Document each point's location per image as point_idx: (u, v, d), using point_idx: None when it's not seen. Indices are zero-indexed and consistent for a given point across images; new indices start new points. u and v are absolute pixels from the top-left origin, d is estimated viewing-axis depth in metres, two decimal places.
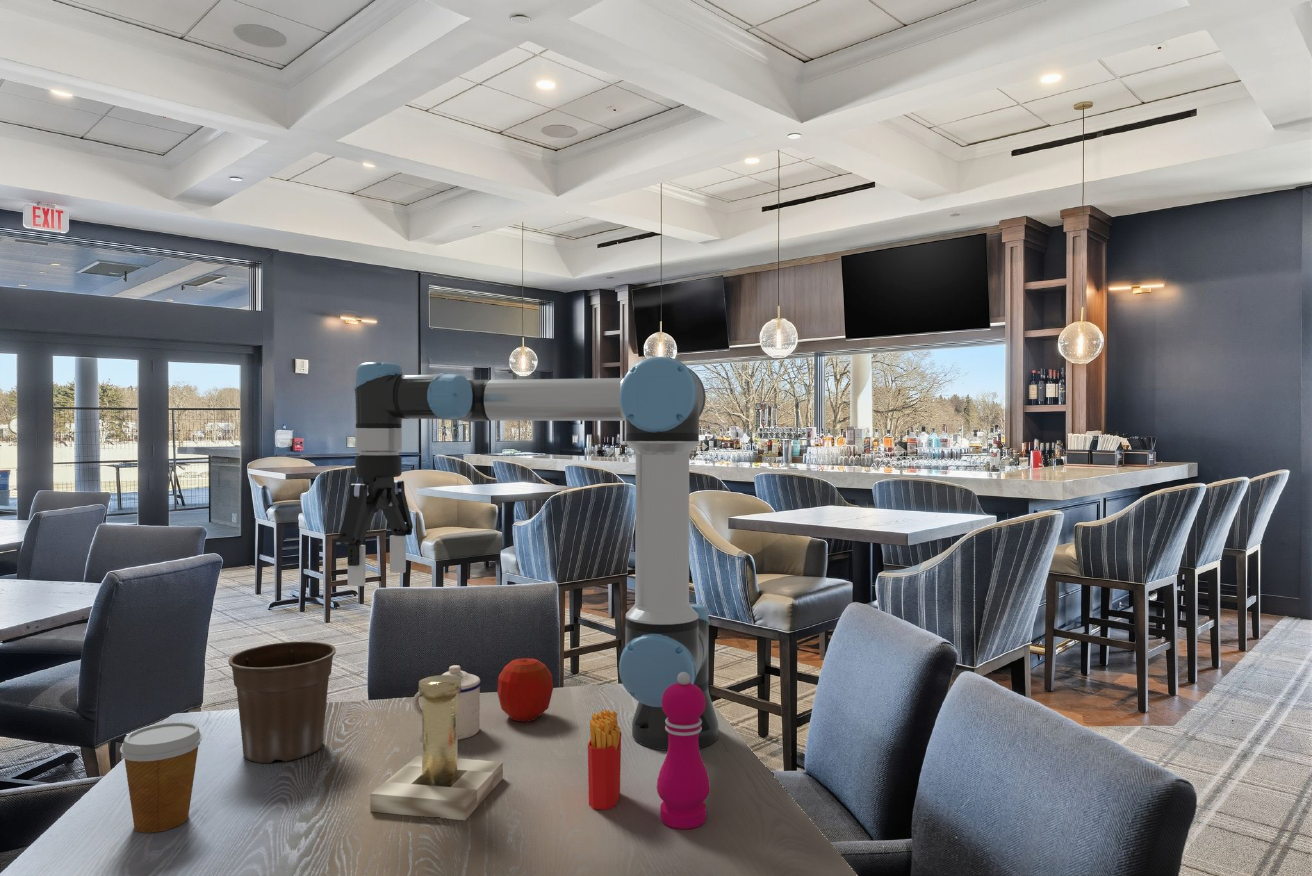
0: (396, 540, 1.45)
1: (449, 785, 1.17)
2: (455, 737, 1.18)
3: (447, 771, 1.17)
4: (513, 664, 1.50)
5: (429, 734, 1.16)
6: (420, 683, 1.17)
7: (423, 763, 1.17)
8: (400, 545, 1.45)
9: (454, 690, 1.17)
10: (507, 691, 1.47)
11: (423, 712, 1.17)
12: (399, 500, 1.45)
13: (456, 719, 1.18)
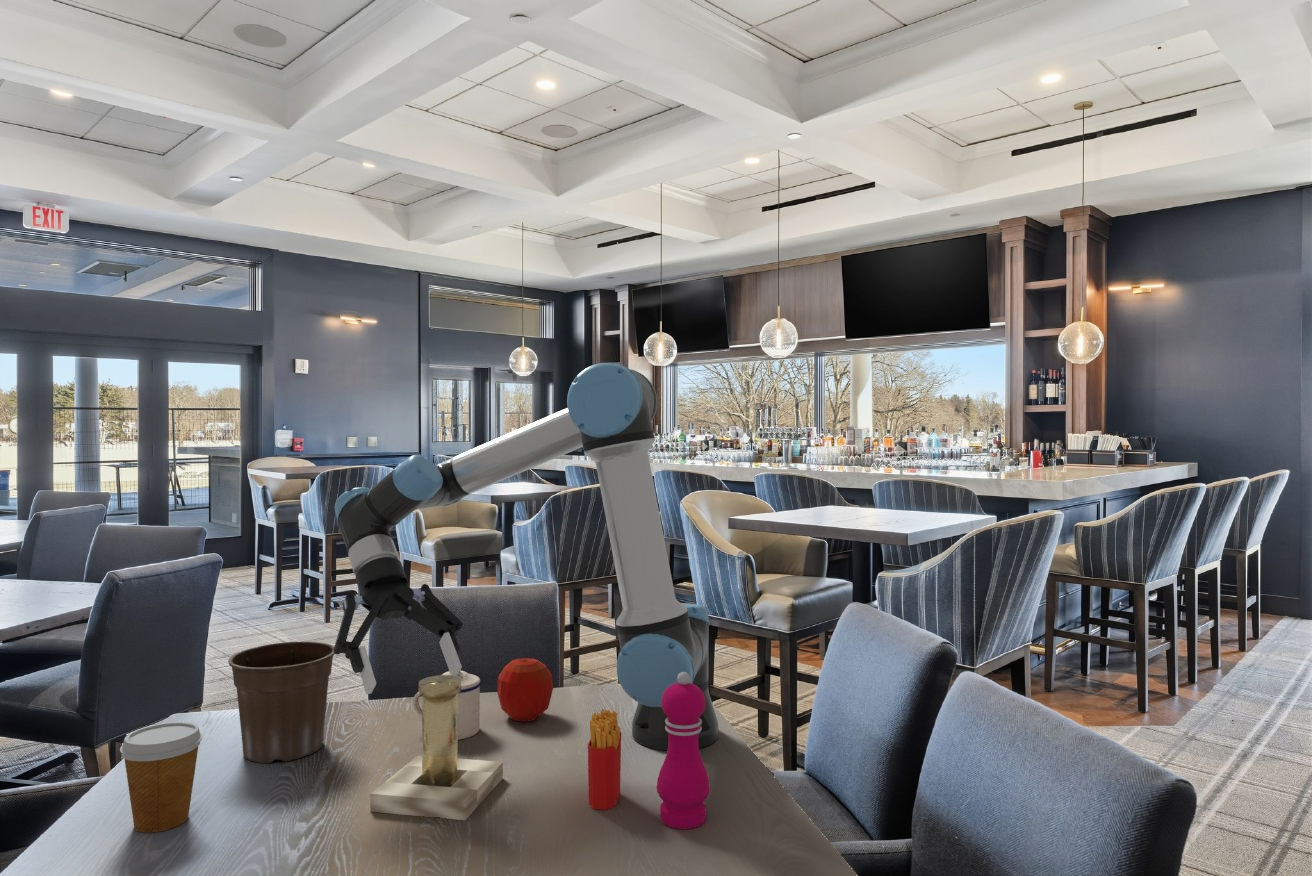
0: (443, 642, 1.31)
1: (449, 785, 1.17)
2: (455, 737, 1.18)
3: (447, 771, 1.17)
4: (513, 664, 1.50)
5: (429, 734, 1.16)
6: (420, 683, 1.17)
7: (423, 763, 1.17)
8: (446, 643, 1.30)
9: (454, 690, 1.17)
10: (507, 691, 1.47)
11: (423, 712, 1.17)
12: (430, 603, 1.34)
13: (456, 719, 1.18)
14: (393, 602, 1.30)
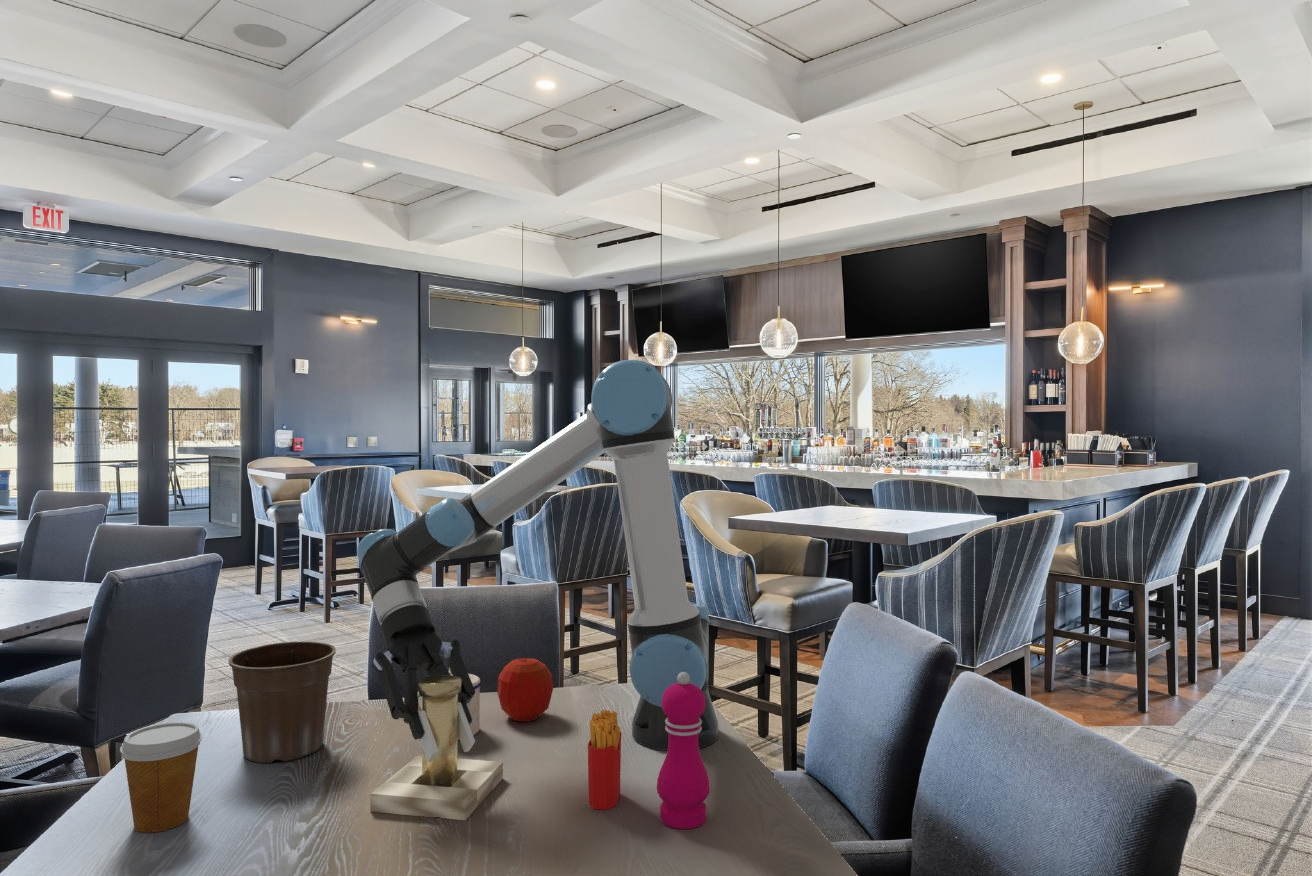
0: None
1: (449, 785, 1.17)
2: (455, 737, 1.18)
3: (447, 771, 1.17)
4: (513, 664, 1.50)
5: None
6: (420, 683, 1.17)
7: (423, 763, 1.17)
8: (458, 715, 1.20)
9: (454, 690, 1.17)
10: (507, 691, 1.47)
11: None
12: (453, 661, 1.26)
13: (456, 719, 1.18)
14: (421, 653, 1.24)
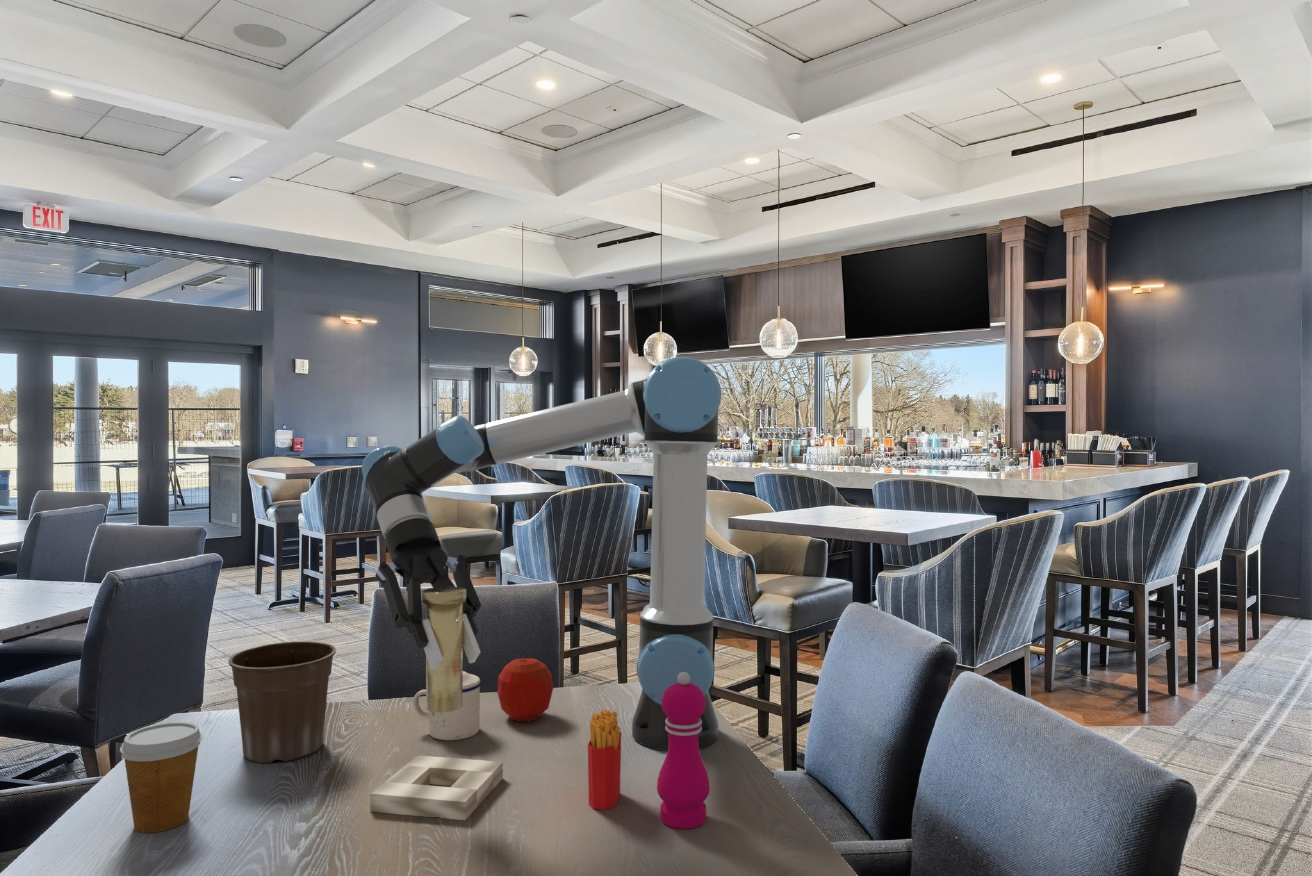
0: None
1: (454, 695, 1.14)
2: (459, 647, 1.15)
3: (451, 682, 1.14)
4: (513, 664, 1.50)
5: None
6: (424, 592, 1.14)
7: (427, 674, 1.14)
8: (463, 626, 1.16)
9: (458, 599, 1.14)
10: (507, 691, 1.47)
11: None
12: (458, 575, 1.23)
13: (461, 629, 1.15)
14: (426, 566, 1.21)
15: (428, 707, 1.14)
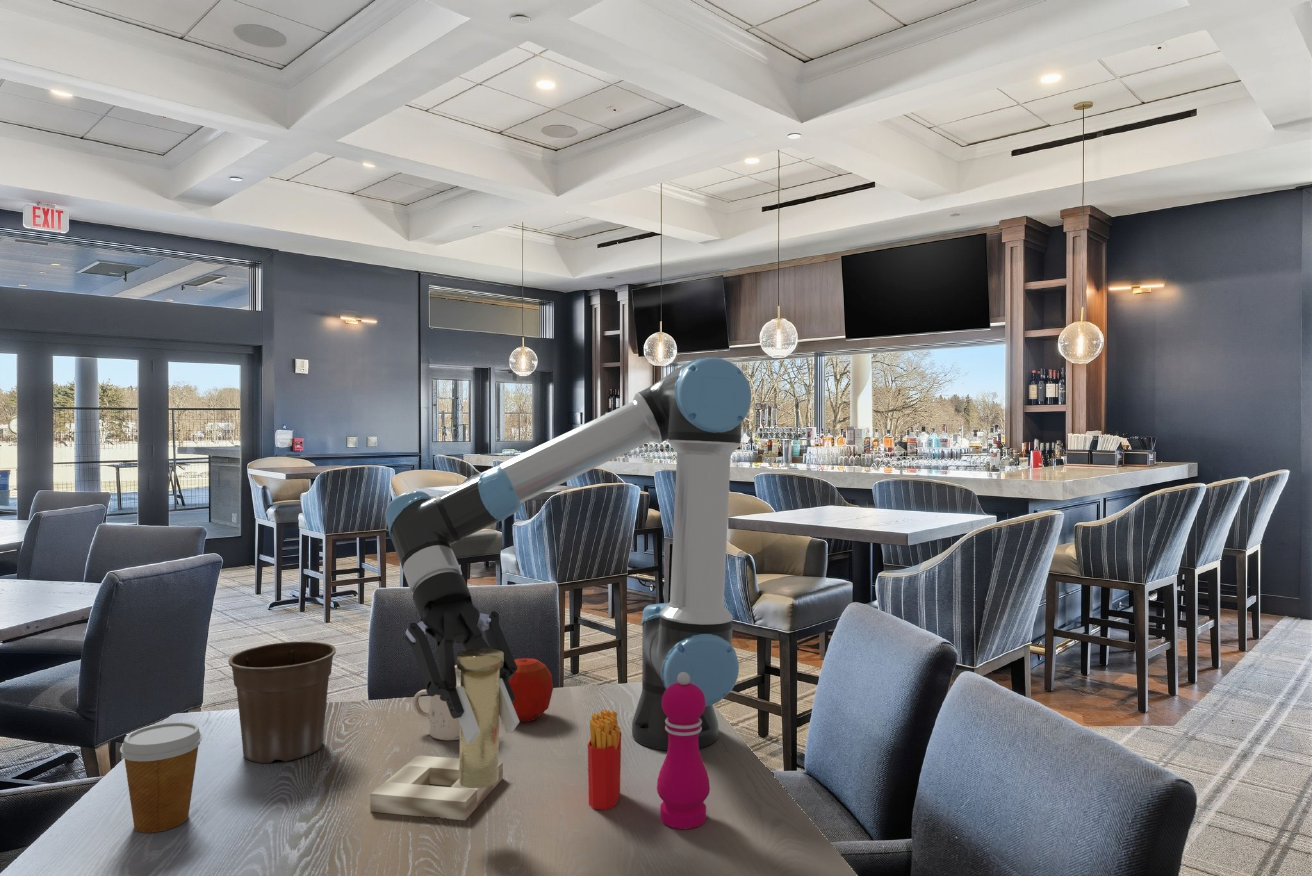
0: None
1: (490, 769, 1.05)
2: (496, 716, 1.06)
3: (488, 754, 1.05)
4: None
5: None
6: (458, 656, 1.06)
7: (462, 745, 1.05)
8: (499, 692, 1.08)
9: (496, 664, 1.05)
10: None
11: None
12: (492, 634, 1.14)
13: (498, 697, 1.06)
14: (458, 625, 1.12)
15: (462, 782, 1.05)
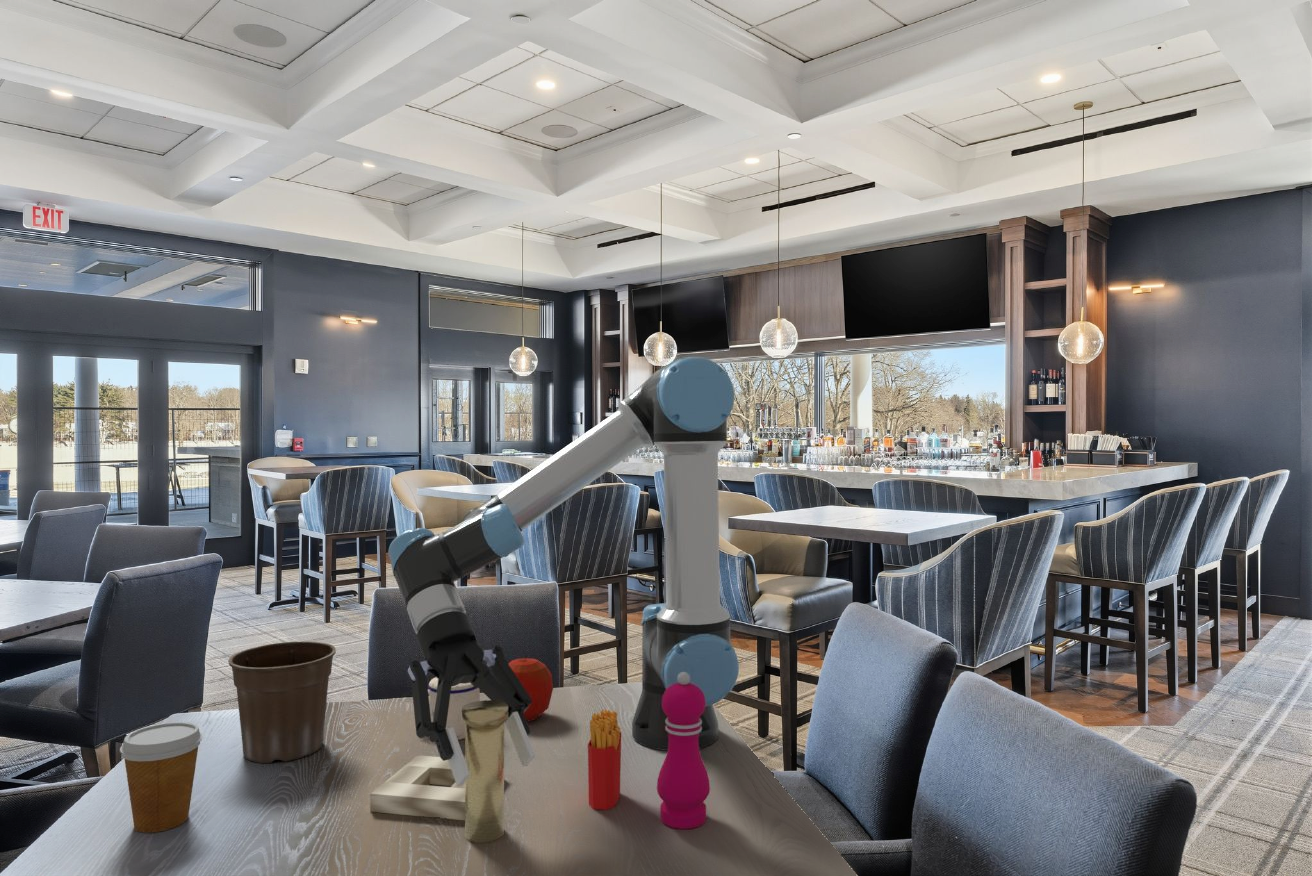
0: (510, 723, 1.10)
1: (496, 823, 1.05)
2: (501, 770, 1.06)
3: (493, 808, 1.05)
4: (513, 664, 1.50)
5: (474, 767, 1.04)
6: (463, 710, 1.06)
7: (467, 800, 1.05)
8: (515, 726, 1.09)
9: (501, 718, 1.05)
10: None
11: (466, 743, 1.05)
12: (500, 669, 1.15)
13: (503, 750, 1.07)
14: (462, 665, 1.12)
15: (467, 836, 1.05)
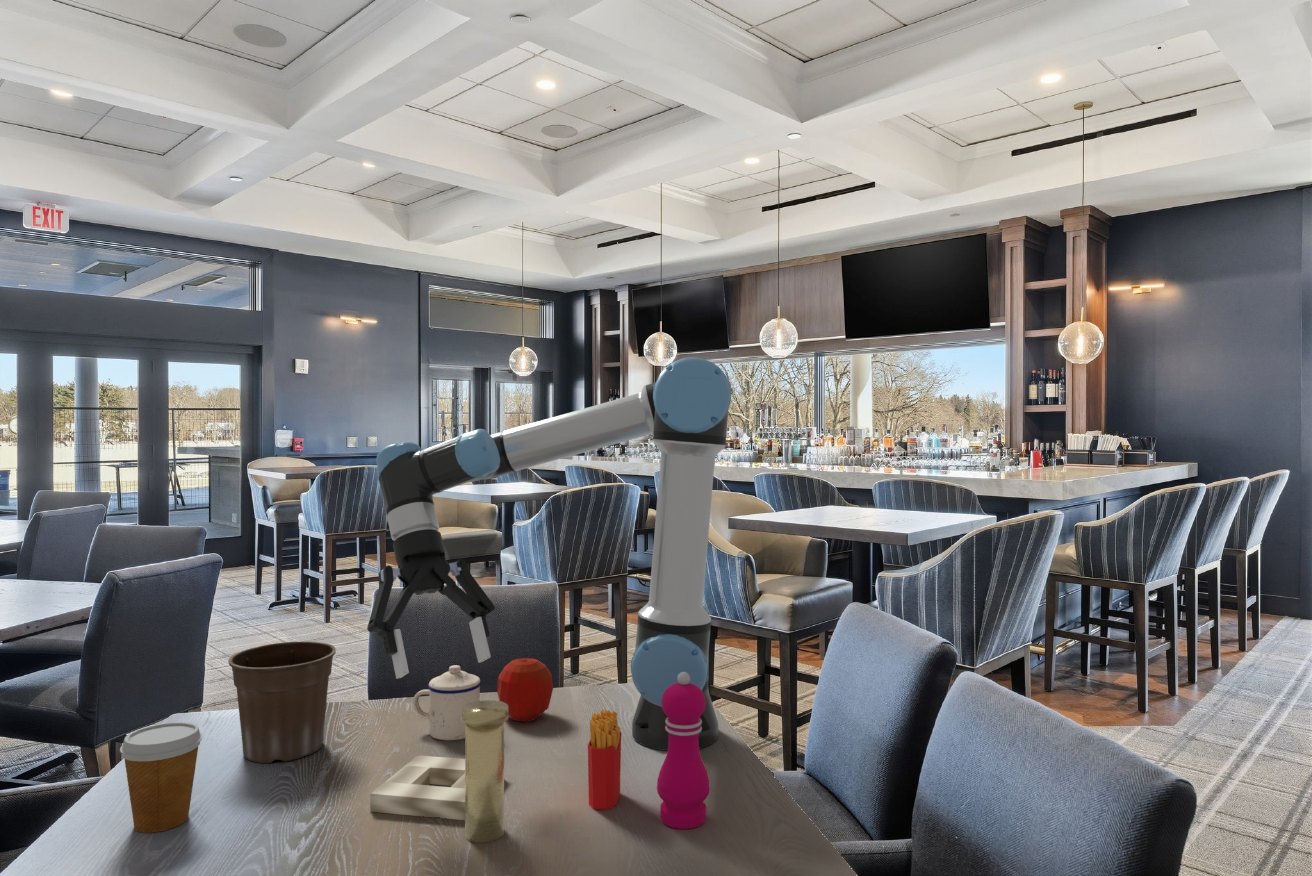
0: (473, 624, 1.29)
1: (496, 823, 1.05)
2: (501, 770, 1.06)
3: (493, 808, 1.05)
4: (513, 664, 1.50)
5: (474, 767, 1.04)
6: (463, 710, 1.06)
7: (467, 800, 1.05)
8: (477, 628, 1.28)
9: (501, 718, 1.05)
10: (507, 691, 1.47)
11: (466, 743, 1.05)
12: (464, 580, 1.31)
13: (503, 750, 1.07)
14: (430, 579, 1.26)
15: (467, 836, 1.05)
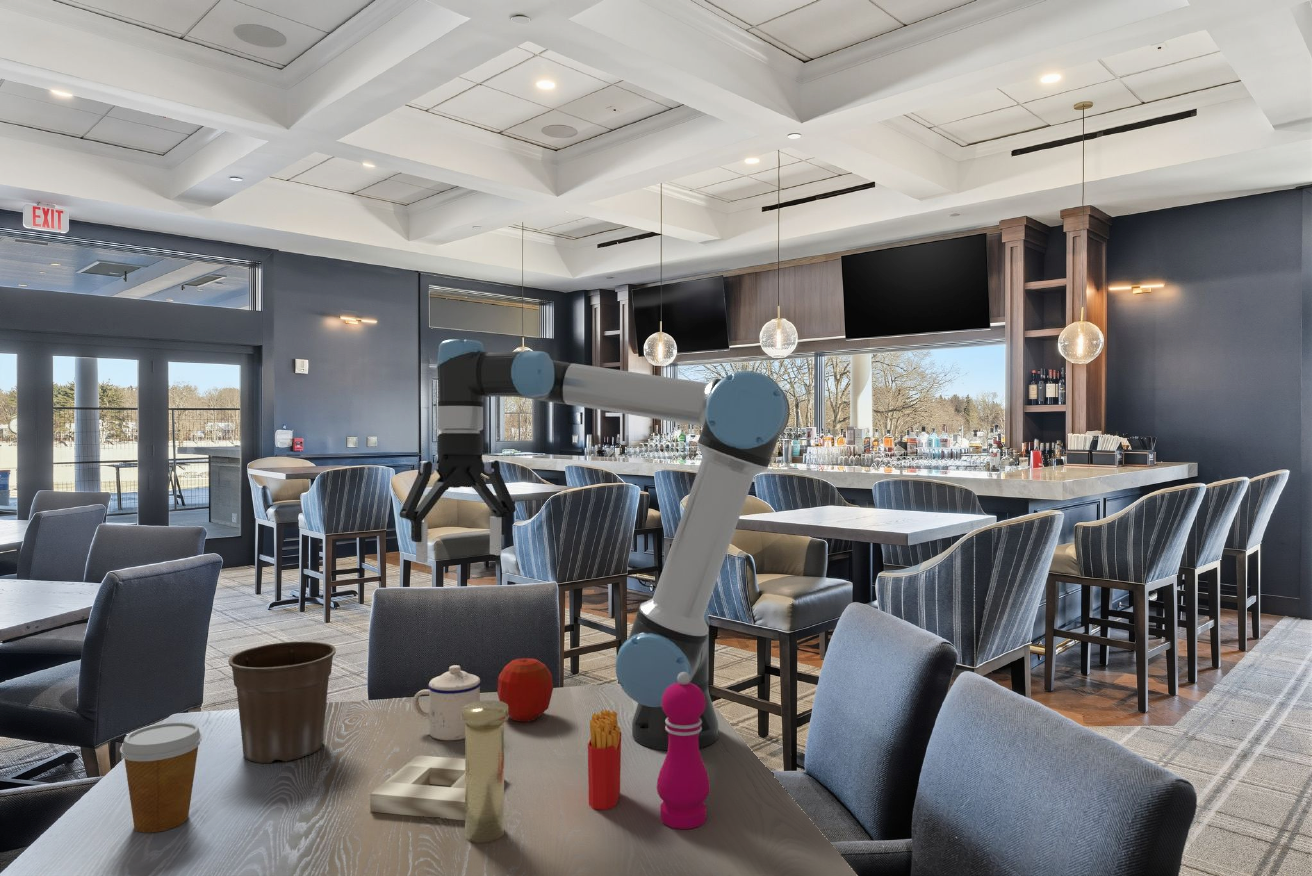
0: (493, 521, 1.42)
1: (496, 823, 1.05)
2: (501, 770, 1.06)
3: (493, 808, 1.05)
4: (513, 664, 1.50)
5: (474, 767, 1.04)
6: (463, 710, 1.06)
7: (467, 800, 1.05)
8: (495, 527, 1.41)
9: (501, 718, 1.05)
10: (507, 691, 1.47)
11: (466, 743, 1.05)
12: (494, 480, 1.41)
13: (503, 750, 1.07)
14: (463, 477, 1.37)
15: (467, 836, 1.05)
